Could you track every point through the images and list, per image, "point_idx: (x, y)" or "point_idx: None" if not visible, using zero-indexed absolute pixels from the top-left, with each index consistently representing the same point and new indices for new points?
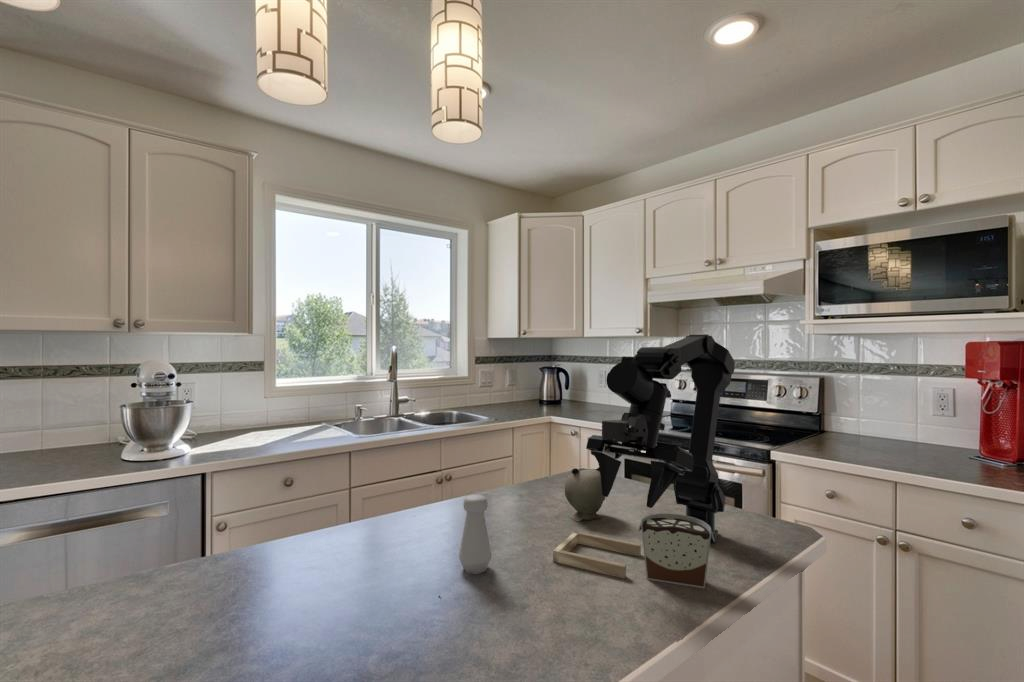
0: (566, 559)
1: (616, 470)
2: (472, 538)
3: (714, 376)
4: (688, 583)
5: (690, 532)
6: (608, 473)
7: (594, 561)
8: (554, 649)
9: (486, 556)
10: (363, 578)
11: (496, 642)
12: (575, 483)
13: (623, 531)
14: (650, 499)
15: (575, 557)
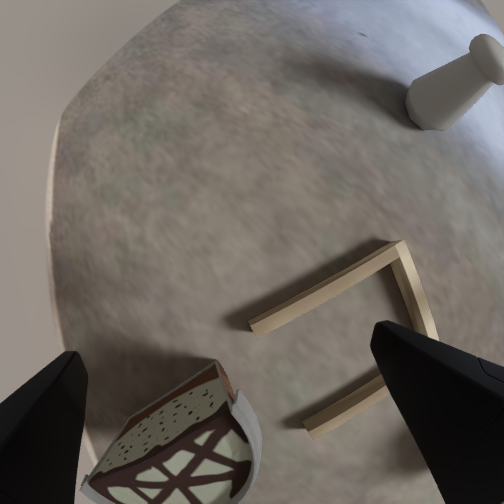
0: (372, 255)
1: (444, 479)
2: (440, 68)
3: None
4: (150, 406)
5: (118, 468)
6: (456, 410)
7: (318, 288)
8: (156, 61)
9: (417, 100)
10: (431, 23)
11: (221, 21)
12: None
13: (393, 456)
14: (43, 368)
15: (359, 265)
